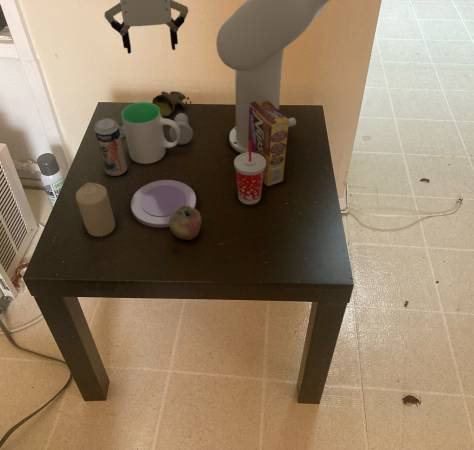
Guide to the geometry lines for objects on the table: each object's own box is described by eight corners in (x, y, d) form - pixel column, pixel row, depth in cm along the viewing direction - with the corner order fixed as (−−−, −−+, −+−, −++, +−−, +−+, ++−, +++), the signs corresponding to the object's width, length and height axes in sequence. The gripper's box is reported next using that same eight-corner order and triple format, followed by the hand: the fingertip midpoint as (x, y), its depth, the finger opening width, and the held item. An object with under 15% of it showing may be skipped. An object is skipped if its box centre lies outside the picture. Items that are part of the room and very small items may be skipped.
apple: (167, 251, 89) (164, 228, 84) (173, 220, 94) (169, 197, 90) (200, 251, 89) (198, 229, 84) (203, 220, 94) (202, 198, 90)
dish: (181, 176, 103) (180, 171, 103) (207, 213, 95) (206, 209, 95) (122, 195, 99) (121, 191, 98) (144, 236, 91) (143, 232, 90)
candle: (84, 220, 94) (71, 181, 87) (113, 213, 96) (102, 174, 88) (88, 240, 91) (75, 201, 84) (117, 232, 92) (107, 193, 85)
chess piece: (187, 120, 107) (187, 104, 115) (165, 128, 108) (166, 112, 115) (196, 140, 111) (196, 123, 118) (175, 148, 111) (175, 131, 119)
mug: (185, 142, 111) (181, 103, 104) (180, 164, 106) (175, 124, 98) (133, 141, 112) (125, 101, 105) (126, 163, 106) (117, 122, 99)
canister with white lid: (100, 173, 104) (88, 126, 96) (114, 160, 107) (103, 114, 99) (118, 179, 103) (107, 132, 94) (132, 167, 106) (122, 120, 97)
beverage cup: (254, 211, 96) (256, 154, 86) (228, 199, 98) (227, 143, 88) (270, 193, 99) (273, 137, 89) (244, 183, 102) (244, 127, 92)
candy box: (284, 181, 102) (290, 119, 91) (267, 187, 101) (270, 125, 90) (264, 158, 108) (266, 97, 97) (247, 163, 106) (247, 102, 95)
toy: (172, 118, 118) (194, 109, 125) (171, 96, 115) (193, 89, 123) (149, 114, 120) (172, 106, 128) (148, 93, 118) (171, 86, 126)
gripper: (183, -44, 98) (188, 38, 110) (95, -39, 96) (111, 44, 108) (186, -31, 93) (192, 53, 105) (94, -26, 91) (111, 60, 103)
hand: (151, 48), depth 107 cm, fingers open, 9 cm apart
